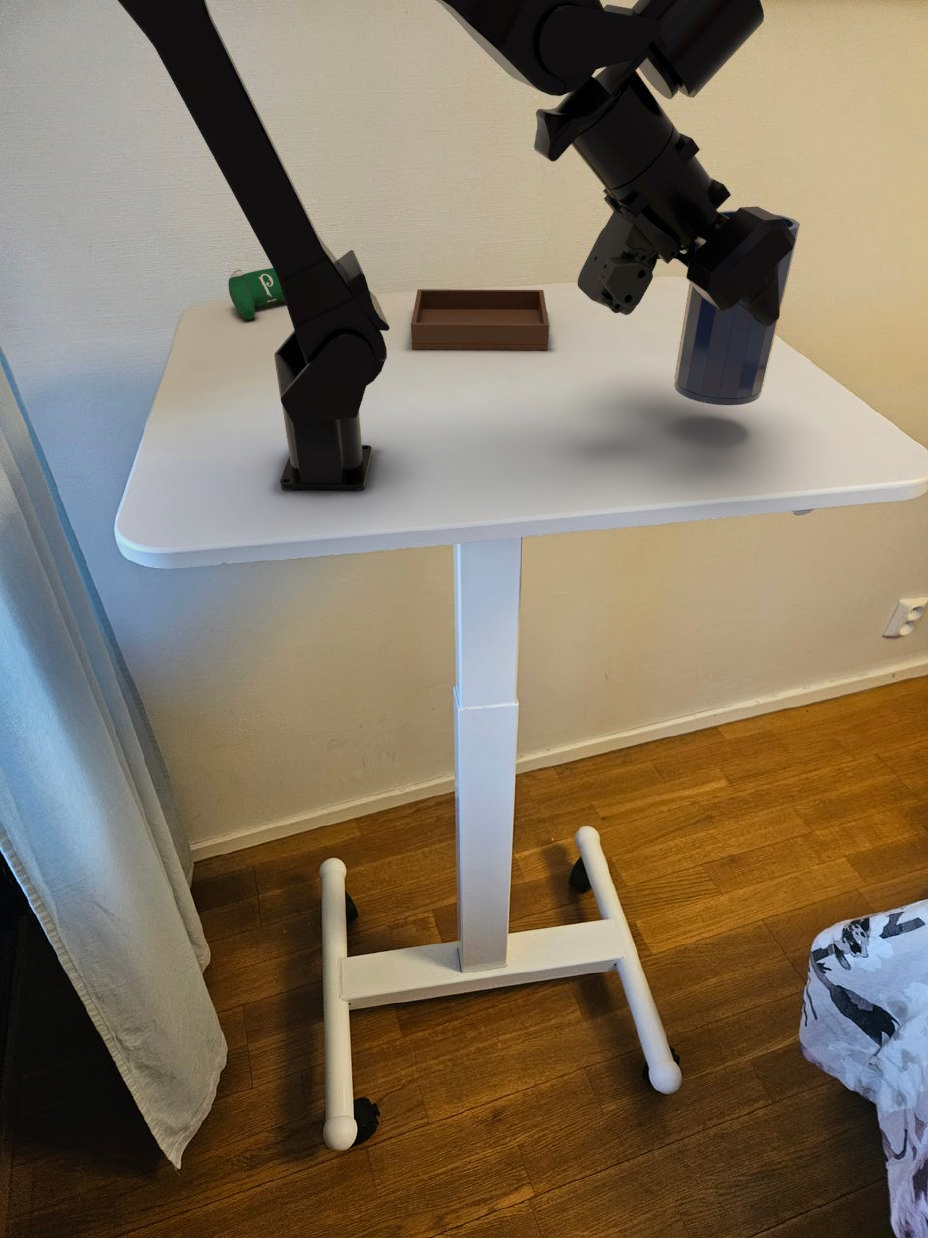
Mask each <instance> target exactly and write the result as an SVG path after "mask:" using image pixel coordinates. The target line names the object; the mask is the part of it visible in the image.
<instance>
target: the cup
mask: <svg viewBox="0 0 928 1238" xmlns="http://www.w3.org/2000/svg"><path fill="white" fill-rule="evenodd" d="M736 211H737V210H723V211H722V210H721V211H719V212H720V213H721V214H723V215H725V216H727V217H729V218H730V217H731V216H732V215H733V214H734V213H735V212H736ZM773 214H774V215H776V216H778V217H780V218H782V219H783V220H784V222H785V223H786V225H787V226H788V228H789V229H790V231H791V233H792V234H793V236H794V237H795V239H796V241H795V244H794V248H793V249H792V250H791V251H790V252H789V253H788V254H787V255H786V256H785V257H784V258H783V259H782V260H781V261H780V262H779V268H778V277H779V280H778V281H779V309H780V312H782V307H783V301H784V297H785V293H786V290H787V289H786V288H787V284H788V281H789V276H790V271H791V266H792V262H793V258H794V253H795V249H796V244H797V240H798V235H799V231H800V226H801V223H800V222H798V221H797V220H796V219H794V218H791V217H788V216H785V215H782V214H775V213H773ZM700 247H701V245H699V244H698V243H696V246H695V252H696V251H697V250H698V249H699V248H700ZM695 252H694V253H695ZM683 314H684V315H683V321H682V328H681V334H680V341H679V346H678V347H679V348H678V353H677V357H676V358H677V359H676V365H675V372H674V382H673V387H674V389H675V391H676V392H677V393H678V394H680V395H681V396H683V397H685V398H687V399H689V400H693V401H695V402H699V403H702V404H708V405H716V406H739V405H740V406H741V405H746V404H747V405H748V404H750V403H754V402H755V401H757V400H759V398H761V396H762V392H763V389H764V387H765V381H766V377H767V373H768V368H769V364H770V359H771V356H772V355H771V354H772V351H773V346H774V342H775V337H776V332H777V329H778V324H779V319H780V318H779V319H778V320H777V321H776V322H774V323H773V324H772V325H771V326H770V327H767V326H766V325H764V324H763V323H762V322H761V321H759V320H758V319H757V318H756V317H754V316H753V315H752V314H751V313H749V312H748V311H747V310H746V309H745V308H743V307H742V306H741V305H740V304H738V303H736V304H735V305H734V306H733V307H732V308H729V309H727V310H724V311H721V310H719V309H718V308H716V307H715V306H714V305H712V304H711V303H710V302H708V301H707V300H706V299H704V298H703V297H702V296H700V295H699V294H698V291H697V290H696V289H695V288H694V287H693V286H692V284H691V283H690V282H689V284H688V290H687V297H686V303H685V309H684V313H683Z"/></svg>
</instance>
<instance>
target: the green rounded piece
mask: <svg viewBox="0 0 928 1238" xmlns="http://www.w3.org/2000/svg"><path fill="white" fill-rule="evenodd" d="M228 294H229V296H230V299H231V302H232V303H233V306H234V307H235V309H236V310H237V312H238V313H239V314H240V315H241V316H242V317H243V318H244V319H245V320H248V321H250V320H252V319H255V315H256V314H255V313H256V310H255V308H259V307H261V306H262V305H263V304H268V303H273V302H276V303H282V302H285V299H284V296H283V293H282V290H281V287H280V283H279V280H278V277H277V275H276V272H275V270H274V268H273V267H270V268H265V269H259V270H254V271H249V272H246V273H243V272H242V269H241V268H235V269H234V271H232V273H231V275H230V276H229V278H228Z"/></svg>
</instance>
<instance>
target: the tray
mask: <svg viewBox="0 0 928 1238" xmlns="http://www.w3.org/2000/svg"><path fill="white" fill-rule="evenodd" d="M413 306H414V307H413V311H412V317H411V323H410V335H411V336H410V337H411V338H410V339H411V350H446V351H447V350H450V351H451V350H452V351H453V350H457V351H459V350H462V351H463V350H464V351H465V350H470V351H472V350H473V351H548V350H549V349H548V348H549V336H550V335H549V334H550V333H549V332H550V323H549V316H548V309H547V305H546V298H545V292H544V289H447V288H446V289H443V288H442V289H436V288H435V289H433V288H432V289H431V288H430V289H428V288H420V289H419V288H418V289H417V290H416V296H415V301H414V305H413Z"/></svg>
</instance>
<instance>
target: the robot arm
mask: <svg viewBox="0 0 928 1238" xmlns="http://www.w3.org/2000/svg"><path fill="white" fill-rule="evenodd" d="M434 1H435V2H437V3H439V4H440V5H441V6H442V7H443V8H444V10H446V11H447V12H448V13H449V14H450V15H451V17H453V18H454V20H456V22H457V23H458V24H459V25H460V26H461V27H462V28H463V29H464V31H466V33H467V34H468V35H469V36H470V37H471V38H472V39H473V40H474V41H475V43H476V44H477V45H478V46H479V47H480V48H482V50H483V51H484V52H485V53H487V55H488V56H490V58H492V60H493V61H494V62H495V63H496V64H498V66H500V68H501V69H503V71H504V72H506V74H508V75H509V76H510V77H511V78H512V79H514V80H516V81H518V82H520V83H523V84H524V85H527V86H529V87H531V88H533V89H534V90H536V91H539V92H541V93H543V94H546V95H549V96H553V97H563V96H564V95H566V96H565V97H564V98H563V99H562V100H561V102H560V103H559V104H558V105H557V106H556V107H553V108H548V109H545V108H538V109H537V110H536V111H535V117H536V131H535V138H534V144H533V148H534V151H535V152H536V153H538V154H540V155H541V156H542V157H544V158H545V159H547V160H548V161H549V162H557V161H558V160H559V158H561V156H562V155H563V154H564V153H565V152H566V151H567V150H568V148H570V146H571V147H572V148H573V149H574V150H575V151H576V153H577V154H578V155H579V156H580V158H581V159H582V160H583V161H584V163H585V164H586V165H587V166H588V168H589V169H590V170H591V172H592V173H593V174H594V176H595V177H596V178H597V179H598V181H599V182H600V183H601V184H602V185H603V186H604V189H603V191H602V192H603V193H604V194H605V196H604V198H603V201H604V202H605V203H606V204H607V205H608V206H609V208H610V209H611V210H612V214H611V215H610V216H609V218H608V220H607V222H606V224H605V226H604V227H603V228H602V229H601V231H600V232H599V234H598V236H597V238H596V240H595V241H594V244H593V246H592V248H591V250H590V252H589V254H588V256H587V258H586V260H585V261H584V264H583V266H582V268H581V269H580V272H579V274H578V276H577V287H578V288H579V290H581V292H583V294H585V295H586V296H587V298H589V299H590V300H591V301H592V302H595V303H597V304H600V305H602V306H603V307H607V308H608V309H609V310H610V311H611V312H612V313H613V314H619V313H620V314H622V315H623V316H629V315H630V314H632V313H633V312H634V310H635V309H636V307H637V306H638V305H640V303H641V301H642V299H643V297H644V295H645V294H646V292H647V290H648V288H649V286H650V284H651V283H652V281H653V278H654V273H653V271H654V269H655V268H656V265H657V263H658V260H662V261H663V262H664V263H665V264H666V265H669V264H670V263H671V261H672V260H677V261H678V262H679V263H681V264H682V265H684V266H685V267H686V268H687V269H686V270H687V271H686V280H687V281H688V282H689V283H691V284H692V286H693V287H694V288H695V289H696V290H697V291H698V294H699V295H700V296H702V297H703V298H704V299H706V300H707V301H708V302H710V303H711V304H712V305H714V306H715V307H716V308H718V309H719V310H721V311H724V310H727V309H729V308H732V307H733V306H734V305H735V304H736V303H738V304H740V305H741V306H742V307H743V308H745V309H746V310H747V311H748V312H749V313H751V314H752V315H753V316H754V317H756V318H757V319H758V320H759V321H761V322H762V323H763V324H764V325H766V326H767V327H770V326H771V325H772V324H773V323H774V322H776V321H777V320H778V319H780V315H781V311H780V309H779V281H778V280H779V277H778V268H779V262H780V261H781V260H782V259H783V258H784V257H785V256H786V255H787V254H788V253H789V252H790V251H791V250H792V249H793V248H794V244H795V241H796V242H797V240H796V239H795V237H794V236H793V234H792V233H791V231H790V229H789V228H788V226H787V225H786V223H785V222H784V220H783V219H782V218H780V217H778V216H776V215H777V214H776V215H774V214H775V213H771V212H769V211H767V210H765V209H763V208H762V207H760V206H741V207H739V208H738V209H737V210H735V211H736V212H735V213H734V214H733V215H732V216H731V217H730V218H729V217H727V216H725V215H723V214H721V213H720V212H721V211H718V210H719V208H720V207H721V206H722V205H723V204H724V203H725V202H727V200H728V199H729V198H730V197H732V194H731V192H730V191H729V189H728V188H727V186H726V185H725V184H724V183H722V182H720V181H719V180H716V179H714V178H712V177H711V176H710V175H709V174H708V172H707V170H705V168H704V166H703V165H702V164H701V162H700V161H699V159H698V158H697V156H696V155H697V154H698V153H699V151H701V149H700V147H699V146H698V144H697V143H696V141H695V140H694V139H693V138H692V137H690V136H688V135H685V134H683V133H682V132H679V130H678V129H677V128H676V126H675V125H674V123H673V122H672V119H670V117H669V116H668V115H667V113H666V112H665V110H664V109H663V108H662V105H660V103H659V101H658V100H657V99H656V97H655V96H654V94H653V93H652V91H651V90H650V89H649V87H648V85H647V84H646V83H645V82H644V80H643V78H642V77H641V76H640V73H638V71H637V70H638V69H639V70H640V72H641V73H642V75H643V76H644V78H645V79H646V80H647V82H648V83H649V84H650V85H651V86H652V87H653V89H655V90H656V91H657V92H658V94H660V95H661V96H663V98H666V99H667V100H672V99H673V98H674V97H675V96H676V95H677V94H678V93H679V92H680V93H681V94H682V95H683V96H686V97H688V98H695V97H697V95H698V94H699V93H700V92H701V91H702V90H703V88H704V87H705V86H707V84H708V83H709V82H710V81H711V80H712V79H713V78H714V77H715V75H716V74H717V73H719V71H720V70H721V69H722V68H723V67H724V66H725V65H726V63H727V62H729V60H730V59H731V58H732V57H733V56H734V55H735V54H736V53H737V52H738V51H739V49H740V48H741V47H742V46H743V45H744V44H745V42H747V41H748V40H749V38H751V36H752V35H754V34H755V32H756V31H757V30H758V29H759V28H760V27H761V26H762V25H763V23H764V19H765V13H764V12H765V11H764V8H763V5H762V2H761V0H637V1H636V3H634V5H633V6H632V7H630V8H629V7H624V6H618V5H613V4H605V5H604V6H603V4H602V1H601V0H434ZM117 2H118V3H119V5H121V6H122V8H123V9H124V10H125V11H126V13H127V14H128V15H129V16H130V18H131V19H132V20H133V21H134V23H135V24H136V25H137V26H138V28H140V30H141V31H142V33H143V34H144V35H145V36H146V38H147V39H148V41H149V42H150V43H151V45H152V46H153V48H154V49H155V51H156V52H157V55H158V56H159V58H160V60H161V62H162V65H163V66H164V69H166V71H167V73H168V75H169V77H170V79H171V80H172V82H173V85H174V86H175V88H176V90H177V92H178V94H179V96H180V97H181V99H182V101H183V104H184V105H185V107H186V108H187V111H188V112H189V115H191V118H192V119H193V121H194V123H195V125H196V127H197V129H198V131H199V132H200V134H201V137H202V139H203V140H204V142H205V144H206V146H207V148H208V149H209V151H210V153H211V155H212V157H213V158H214V160H215V163H216V164H217V166H218V168H219V170H220V172H221V173H222V175H223V177H224V179H225V181H226V183H227V184H228V186H229V189H230V190H231V192H232V194H233V196H234V198H235V199H236V201H237V203H238V205H239V207H240V208H241V211H242V212H243V215H244V216H245V218H246V220H247V222H248V223H249V225H250V227H251V230H252V231H253V233H254V235H255V237H256V239H257V240H258V242H259V244H260V246H261V248H262V250H263V251H264V253H265V256H266V257H267V259H268V261H269V263H270V264H271V266H272V268H274V270H275V272H276V275H277V277H278V280H279V283H280V287H281V290H282V293H283V296H284V299H285V300H284V302H285V305H286V309H287V311H288V314H289V318H290V321H291V324H292V327H293V331H292V332H291V333H290V335H289V336H288V337H286V339H285V340H284V341H283V343H282V344H281V345H280V346H279V347H278V349H277V350H276V351H275V352H274V356H273V358H274V364H275V371H276V377H277V378H276V379H277V385H278V390H279V398H280V403H281V406H282V407H281V408H282V414H283V420H284V421H283V422H284V429H285V433H286V441H287V448H288V455H289V456H288V458H287V462H286V464H285V467H284V470H283V473H282V475H281V477H280V480H279V484H280V488H282V489H285V490H363V489H364V488H365V487H366V484H367V478H368V473H369V469H370V464H371V460H372V455H373V446H371V445H370V444H363V439H362V428H361V417H360V409H361V405H362V402H363V399H364V395H365V392H366V388H367V386H369V385H370V384H372V383H373V382H374V381H376V379H377V377H379V375H380V374H381V373H382V371H383V368H384V365H385V363H386V361H387V358H388V353H387V352H388V349H387V345H386V343H385V342H386V341H385V339H384V335H383V334H382V331H383V332H388V331H389V330H390V325H389V322H388V321H387V318H386V316H385V314H384V312H383V309H382V307H381V305H380V303H379V301H378V299H377V296H376V295H375V294H374V293H373V292H371V290H370V288H369V285H368V282H367V277H366V275H365V273H364V271H363V268H362V266H361V264H360V261H359V260H358V257H357V255H356V252H355V251H354V250H353V249H350V250H349V251H348V252H346V253H344V254H343V255H342V256H341V257H339V258H338V259H337V257H336V256H335V255H334V253H333V252H332V251H331V250H330V248H329V247H328V246H327V245H326V243H325V242H324V241H323V239H322V238H321V236H320V235H319V233H318V231H317V229H316V227H315V225H314V223H313V221H312V219H311V217H310V214H309V213H308V211H307V209H306V207H305V204H304V203H303V201H302V199H301V197H300V195H299V193H298V190H297V189H296V188H297V187H295V184H294V182H293V180H292V178H291V176H290V174H289V172H288V170H287V168H286V166H285V164H284V162H283V159H282V158H281V156H280V154H279V152H278V150H277V148H276V146H275V144H274V141H273V140H272V136H271V135H270V133H269V131H268V129H267V126H266V125H265V123H264V120H263V119H262V116H261V114H260V112H259V110H258V109H257V106H256V104H255V102H254V100H253V98H252V96H251V94H250V92H249V90H248V88H247V86H246V84H245V82H244V80H243V78H242V76H241V74H240V71H239V70H238V68H237V66H236V65H237V64H235V62H234V60H233V57H232V55H231V53H230V51H229V49H228V47H227V45H226V43H225V41H224V39H223V37H222V35H221V33H220V31H219V29H218V26H217V25H216V23H215V20H214V19H213V17H212V14H211V11H210V9H209V6H208V3H207V0H117ZM599 69H602V70H601V71H600V72H599V73H598V74H597V75H595V76H593V75H594V74H595V72H596V71H597V70H599ZM696 243H698V244H699V245H701V247H700V248H699V249H698V250H697V251H696V252H695V246H696ZM694 252H695V253H694ZM778 321H779V320H778Z"/></svg>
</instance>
